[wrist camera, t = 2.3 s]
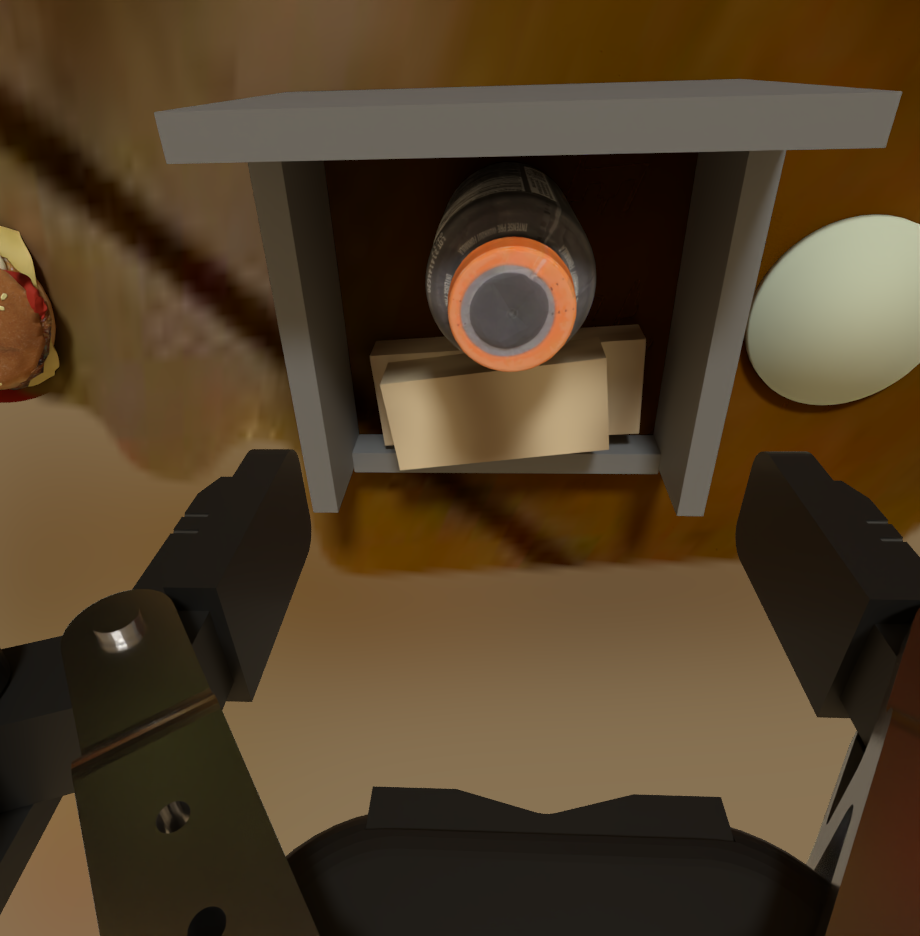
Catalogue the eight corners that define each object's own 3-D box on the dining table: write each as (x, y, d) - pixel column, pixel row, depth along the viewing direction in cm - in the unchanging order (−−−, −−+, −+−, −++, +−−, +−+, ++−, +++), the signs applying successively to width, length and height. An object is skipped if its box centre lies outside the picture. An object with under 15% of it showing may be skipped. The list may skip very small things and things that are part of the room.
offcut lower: (636, 320, 31) (646, 339, 29) (630, 410, 34) (639, 433, 32) (377, 337, 32) (369, 356, 30) (391, 422, 35) (384, 445, 33)
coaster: (982, 212, 27) (991, 215, 27) (908, 399, 32) (914, 405, 32) (768, 216, 28) (773, 219, 27) (727, 399, 33) (731, 405, 32)
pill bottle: (561, 302, 30) (589, 411, 21) (438, 290, 30) (410, 395, 21) (583, 165, 27) (629, 222, 18) (446, 153, 27) (417, 203, 18)
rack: (740, 78, 25) (902, 91, 15) (672, 454, 35) (743, 615, 25) (286, 92, 26) (153, 112, 16) (340, 452, 36) (278, 607, 26)
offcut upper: (598, 336, 29) (606, 358, 27) (601, 424, 32) (609, 449, 30) (388, 362, 30) (379, 384, 28) (406, 444, 33) (400, 470, 31)
